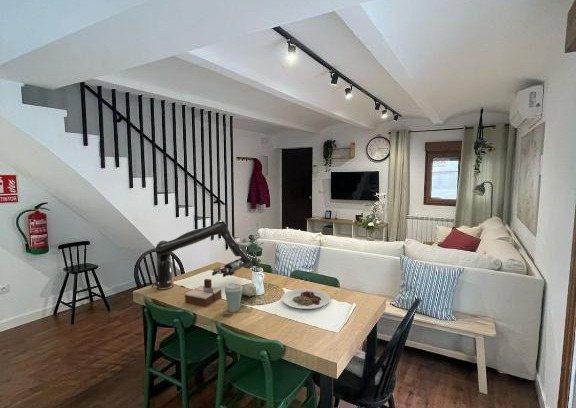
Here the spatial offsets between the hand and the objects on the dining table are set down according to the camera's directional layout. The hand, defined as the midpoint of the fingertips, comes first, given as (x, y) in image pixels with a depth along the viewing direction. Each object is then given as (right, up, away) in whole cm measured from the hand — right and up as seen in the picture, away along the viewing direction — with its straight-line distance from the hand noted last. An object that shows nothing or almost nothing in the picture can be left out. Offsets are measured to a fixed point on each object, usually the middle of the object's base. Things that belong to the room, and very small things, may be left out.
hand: (217, 274), depth 205 cm
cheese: (+22, -13, +3) cm, 26 cm away
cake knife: (-4, -15, -8) cm, 17 cm away
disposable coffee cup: (+14, -16, -21) cm, 30 cm away
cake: (-8, -15, -6) cm, 18 cm away
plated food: (+57, -14, -10) cm, 60 cm away
